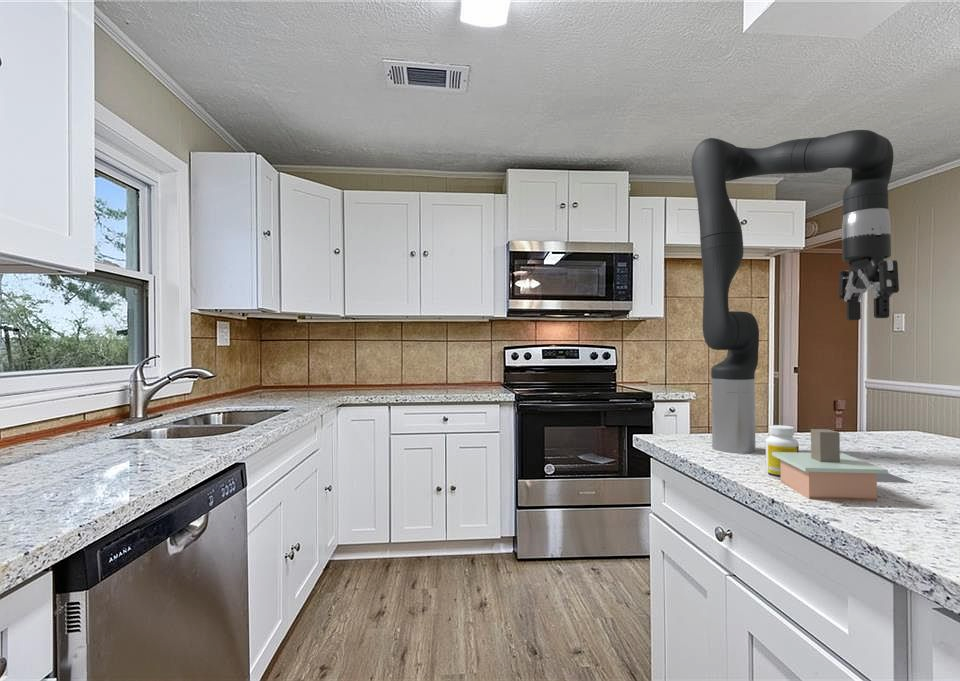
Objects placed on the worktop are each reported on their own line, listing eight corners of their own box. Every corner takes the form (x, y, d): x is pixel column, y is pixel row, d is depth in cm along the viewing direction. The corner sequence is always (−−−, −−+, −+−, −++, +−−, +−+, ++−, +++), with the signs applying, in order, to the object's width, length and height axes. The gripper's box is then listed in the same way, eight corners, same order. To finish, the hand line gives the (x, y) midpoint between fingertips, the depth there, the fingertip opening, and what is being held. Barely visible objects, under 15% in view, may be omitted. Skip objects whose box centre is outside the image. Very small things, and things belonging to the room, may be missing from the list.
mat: (806, 467, 103) (806, 465, 103) (870, 468, 101) (870, 466, 101) (840, 482, 91) (840, 480, 91) (913, 484, 90) (913, 482, 90)
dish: (780, 484, 91) (780, 456, 91) (840, 485, 89) (840, 457, 89) (809, 501, 81) (808, 470, 81) (877, 503, 79) (876, 471, 80)
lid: (772, 455, 92) (771, 424, 92) (843, 456, 90) (842, 425, 90) (805, 471, 80) (804, 436, 80) (887, 473, 78) (887, 437, 78)
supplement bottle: (804, 483, 92) (803, 429, 92) (771, 481, 93) (771, 428, 93) (792, 475, 97) (791, 424, 97) (761, 474, 98) (760, 424, 98)
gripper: (824, 244, 105) (826, 321, 105) (867, 228, 91) (869, 317, 91) (863, 242, 104) (865, 320, 104) (913, 226, 90) (915, 316, 90)
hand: (867, 319), depth 97 cm, fingers open, 8 cm apart
